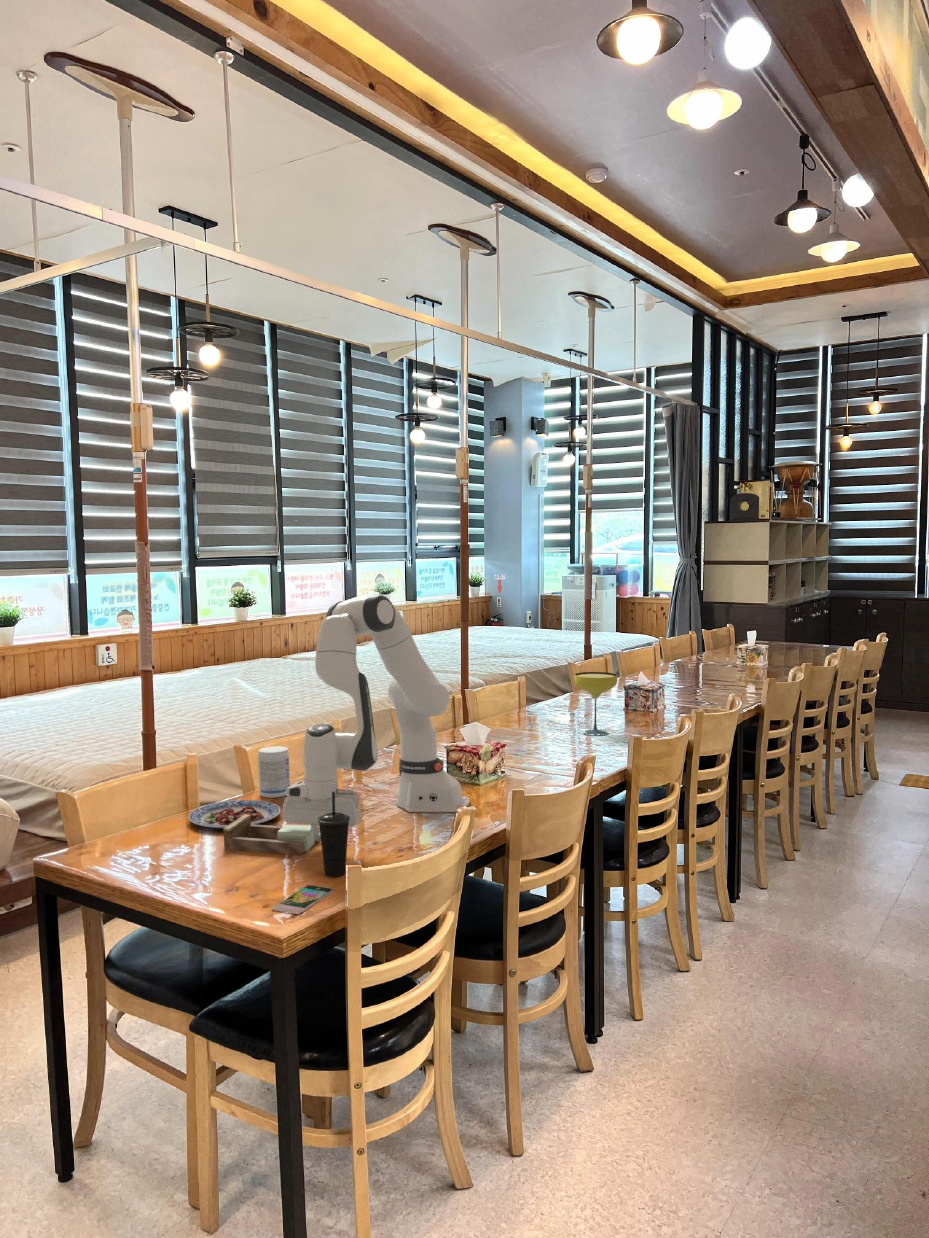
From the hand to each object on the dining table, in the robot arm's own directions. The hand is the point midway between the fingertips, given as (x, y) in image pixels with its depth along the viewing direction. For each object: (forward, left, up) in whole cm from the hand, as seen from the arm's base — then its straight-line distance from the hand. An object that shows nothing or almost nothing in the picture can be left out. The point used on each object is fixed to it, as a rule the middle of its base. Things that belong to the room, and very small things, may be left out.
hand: (321, 840), depth 225 cm
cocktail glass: (-59, -158, -2) cm, 169 cm away
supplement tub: (+34, -44, -2) cm, 56 cm away
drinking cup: (-10, +16, -2) cm, 19 cm away
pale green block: (+7, 0, -2) cm, 8 cm away
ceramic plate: (+34, -18, -3) cm, 39 cm away
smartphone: (-9, +32, -3) cm, 33 cm away
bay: (+13, 0, -2) cm, 13 cm away
